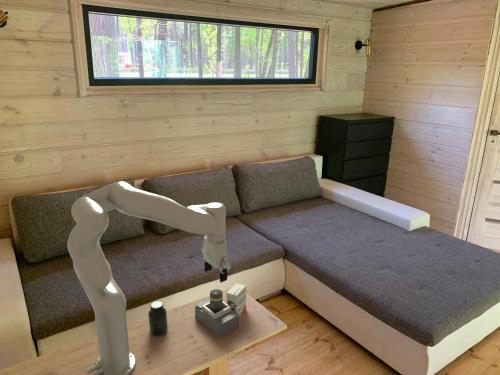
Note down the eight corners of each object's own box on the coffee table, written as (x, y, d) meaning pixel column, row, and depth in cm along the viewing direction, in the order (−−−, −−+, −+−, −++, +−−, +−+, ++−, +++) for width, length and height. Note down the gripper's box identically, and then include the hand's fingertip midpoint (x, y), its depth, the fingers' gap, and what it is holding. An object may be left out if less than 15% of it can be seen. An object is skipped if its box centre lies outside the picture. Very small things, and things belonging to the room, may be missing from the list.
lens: (215, 315, 145) (214, 298, 143) (207, 309, 149) (207, 292, 146) (225, 310, 148) (225, 293, 146) (217, 304, 152) (217, 287, 149)
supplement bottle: (170, 325, 148) (168, 299, 145) (164, 337, 142) (162, 310, 138) (153, 323, 149) (151, 298, 145) (147, 335, 143) (144, 309, 139)
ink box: (236, 305, 161) (236, 282, 157) (246, 309, 159) (246, 285, 155) (226, 316, 154) (226, 292, 150) (236, 320, 152) (236, 296, 148)
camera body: (238, 327, 148) (239, 310, 146) (218, 338, 142) (218, 321, 139) (214, 307, 159) (214, 292, 157) (195, 317, 153) (194, 301, 150)
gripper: (193, 230, 142) (195, 269, 147) (221, 247, 130) (221, 289, 135) (209, 225, 146) (210, 263, 152) (238, 240, 134) (237, 281, 140)
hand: (215, 275), depth 143 cm, fingers open, 9 cm apart
